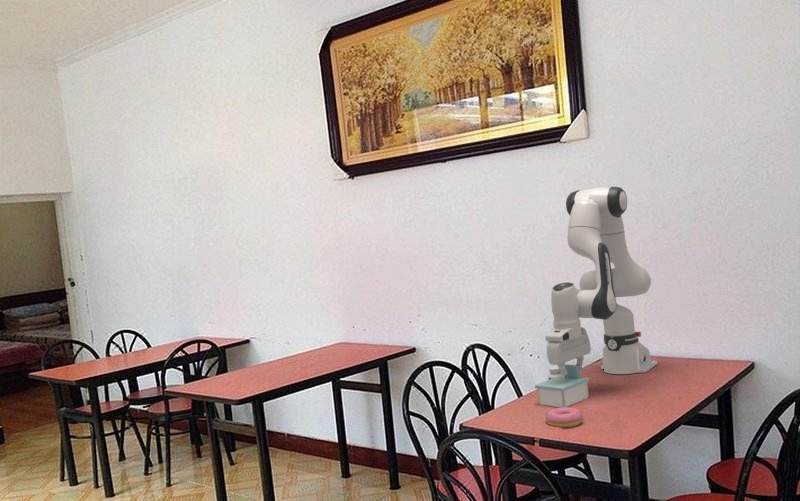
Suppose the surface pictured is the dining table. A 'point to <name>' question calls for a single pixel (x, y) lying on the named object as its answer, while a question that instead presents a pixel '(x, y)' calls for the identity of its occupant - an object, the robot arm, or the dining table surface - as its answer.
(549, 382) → the lid
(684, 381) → the dining table surface
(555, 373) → the pill bottle
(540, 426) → the dining table surface
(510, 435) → the dining table surface
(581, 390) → the tub
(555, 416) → the doughnut
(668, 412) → the dining table surface
